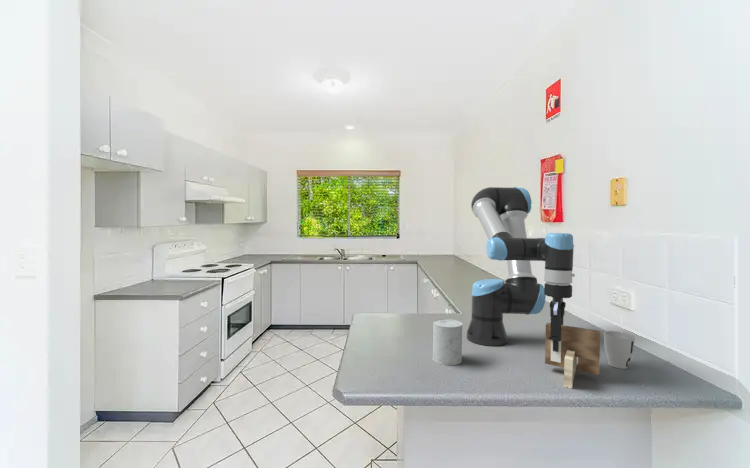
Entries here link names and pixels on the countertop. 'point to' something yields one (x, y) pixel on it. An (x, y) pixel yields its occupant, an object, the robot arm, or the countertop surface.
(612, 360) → the cup
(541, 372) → the countertop surface
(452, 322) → the grey stone cylinder
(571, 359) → the maple plate
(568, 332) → the brown wooden board
